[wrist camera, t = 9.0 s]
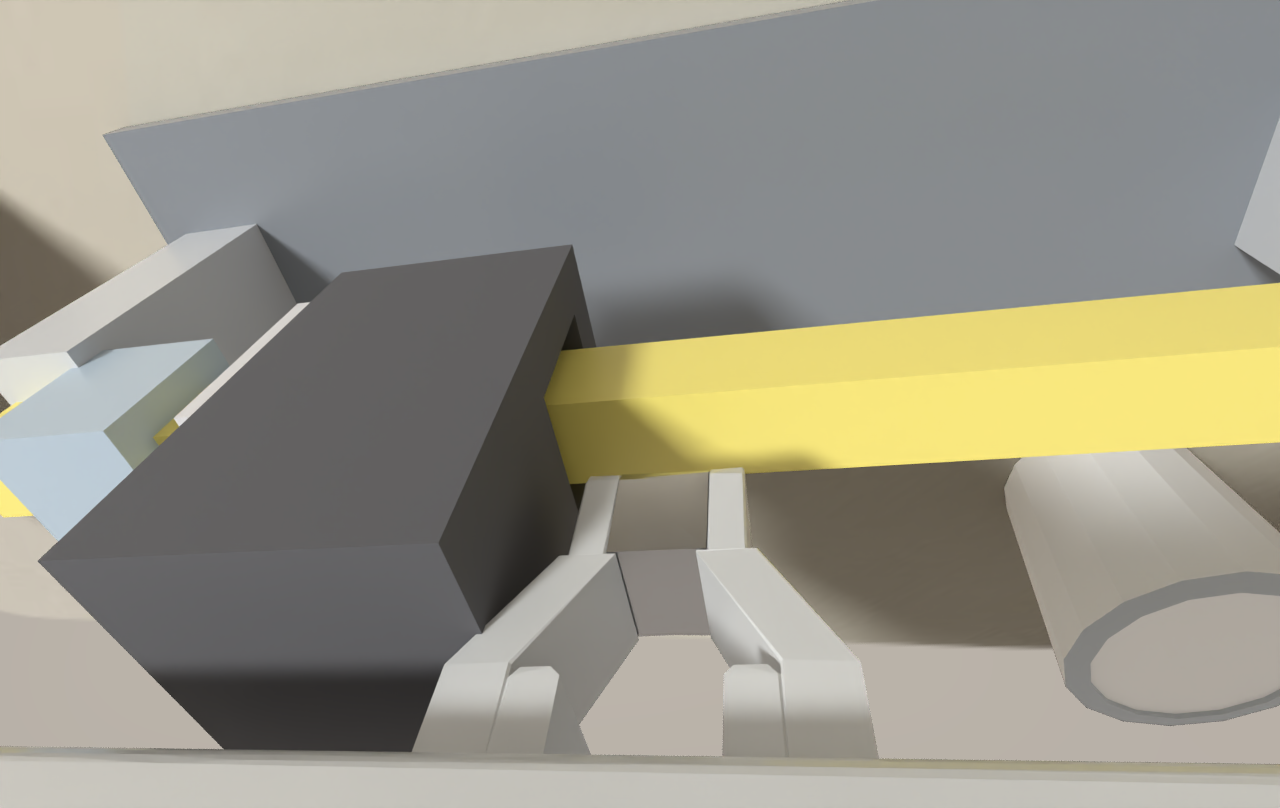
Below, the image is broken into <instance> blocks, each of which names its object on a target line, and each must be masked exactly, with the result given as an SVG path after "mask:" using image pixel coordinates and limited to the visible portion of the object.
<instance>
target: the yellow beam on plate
mask: <svg viewBox="0 0 1280 808" xmlns="http://www.w3.org/2000/svg"><path fill="white" fill-rule="evenodd" d="M103 137H104V138H105V140H106V142H107V143H108V145H109V147H110V148H111V150H112V152H113V153H114V155H115V157H116V158H117V160H118V162H119V163H120V165H121V167H122V168H123V170H124V172H125V174H126V175H127V177H128V179H129V180H130V182H131V184H132V185H133V187H134V189H135V190H136V192H137V194H138V195H139V197H140V199H141V200H142V202H143V204H144V205H145V207H146V209H147V210H148V212H149V214H150V216H151V217H152V219H153V221H154V222H155V224H156V226H157V227H158V229H159V231H160V232H161V234H162V236H163V237H164V239H165V241H166V242H167V244H168V245H167V246H165V247H164V248H162V249H160V250H159V251H157V252H155V253H154V254H152V255H150V256H149V257H147V258H145V259H144V260H142V261H140V262H139V263H137V264H135V265H134V266H132V267H130V268H129V269H127V270H125V271H124V272H122V273H120V274H119V275H117V276H115V277H114V278H112V279H110V280H109V281H107V282H105V283H104V284H102V285H100V286H99V287H97V288H95V289H94V290H92V291H90V292H89V293H87V294H85V295H84V296H82V297H80V298H79V299H77V300H75V301H74V302H72V303H70V304H69V305H67V306H65V307H64V308H62V309H60V310H59V311H57V312H55V313H54V314H52V315H50V316H49V317H47V318H45V319H44V320H42V321H40V322H39V323H37V324H35V325H34V326H32V327H30V328H29V329H27V330H25V331H24V332H22V333H20V334H19V335H17V336H15V337H14V338H12V339H10V340H9V341H7V342H5V343H4V344H2V345H0V393H1V395H2V396H3V397H4V398H5V399H6V400H7V402H8V403H9V404H10V405H11V406H10V407H9V408H7V409H6V410H4V411H3V412H1V413H0V514H1V515H2V516H3V517H18V516H35V517H36V518H37V520H38V521H39V522H40V523H41V524H42V525H43V526H44V527H45V528H46V529H47V530H48V531H49V532H50V533H51V534H52V535H53V536H54V538H55V539H56V540H57V541H59V540H60V539H61V538H62V537H63V536H65V535H66V534H67V533H68V532H69V531H70V530H71V529H72V528H73V527H74V526H75V525H76V524H77V523H78V522H79V521H80V520H81V519H82V518H83V517H85V516H86V515H87V514H88V513H89V512H90V511H91V510H92V509H93V508H94V507H95V506H96V505H97V504H98V503H99V502H100V501H101V500H102V499H103V498H105V497H106V496H107V495H108V494H109V493H110V492H111V491H112V490H113V489H114V488H115V487H116V486H117V485H118V484H119V483H120V482H121V481H122V480H124V479H125V478H126V477H127V476H128V475H129V474H130V473H131V472H132V471H133V470H134V469H135V468H136V467H137V466H138V465H139V464H140V463H141V462H142V461H144V460H145V459H146V458H147V457H148V456H149V455H150V454H151V453H152V452H153V451H154V450H155V449H156V448H157V447H158V446H159V445H160V444H161V443H162V442H164V441H165V440H166V439H167V438H168V437H169V436H170V435H171V434H172V433H173V432H174V431H175V430H176V429H177V428H178V427H179V426H180V425H181V424H183V423H184V422H185V421H186V420H187V419H188V418H189V417H190V416H191V415H192V414H193V413H194V412H195V411H196V410H197V409H198V408H199V407H200V406H201V405H203V404H204V403H205V402H206V401H207V400H208V399H209V398H210V397H211V396H212V395H213V394H214V393H215V392H216V391H217V390H218V389H219V388H220V387H221V386H223V385H224V384H225V383H226V382H227V381H228V380H229V379H230V378H231V377H232V376H233V375H234V374H235V373H236V372H237V371H238V370H239V369H240V368H242V367H243V366H244V365H245V364H246V363H247V362H248V361H249V360H250V359H251V358H252V357H253V356H254V355H255V354H256V353H257V352H258V351H259V350H260V349H262V348H263V347H264V346H265V345H266V344H267V343H268V342H269V341H270V340H271V339H272V338H273V337H274V336H275V335H276V334H277V333H278V332H279V331H280V330H282V329H283V328H284V327H285V326H286V325H287V324H288V323H289V322H290V321H291V320H292V319H293V318H294V317H295V316H296V315H297V314H298V313H299V312H301V311H302V310H303V309H304V308H305V307H306V306H307V305H308V304H309V303H310V302H311V301H312V300H313V299H314V298H315V297H316V296H317V295H318V294H319V293H321V292H322V291H323V290H324V289H325V288H326V287H327V286H328V285H329V284H330V283H331V282H332V281H333V280H334V279H335V278H336V277H337V276H338V275H339V274H341V273H343V272H351V271H359V270H367V269H375V268H383V267H392V266H400V265H408V264H416V263H424V262H432V261H440V260H449V259H457V258H465V257H473V256H481V255H489V254H497V253H506V252H514V251H522V250H530V249H538V248H546V247H554V246H563V245H571V244H572V245H573V250H574V254H575V258H576V262H577V267H578V271H579V275H580V279H581V284H582V288H583V292H584V296H585V301H586V305H587V309H588V313H589V318H590V322H591V326H592V330H593V335H594V339H595V343H596V348H585V349H575V350H564V351H561V352H560V355H559V358H558V360H557V363H556V366H555V369H554V371H553V374H552V377H551V380H550V382H549V385H548V388H547V391H546V393H545V396H544V400H545V403H546V407H547V410H548V413H549V417H550V420H551V423H552V427H553V430H554V433H555V437H556V440H557V443H558V446H559V450H560V453H561V456H562V460H563V463H564V466H565V470H566V473H567V476H568V480H569V483H570V484H579V483H586V482H587V481H588V479H589V478H590V477H591V476H615V475H620V476H622V475H625V474H652V473H677V472H692V471H707V470H713V469H725V468H738V467H743V469H744V472H745V474H749V473H766V472H783V471H800V470H817V469H834V468H851V467H868V466H885V465H902V464H919V463H936V462H953V461H970V460H987V459H1004V458H1021V457H1038V456H1055V455H1072V454H1089V453H1106V452H1123V451H1140V450H1157V449H1174V448H1191V447H1208V446H1225V445H1242V444H1259V443H1276V442H1280V0H849V1H844V2H838V3H832V4H826V5H821V6H815V7H809V8H803V9H798V10H792V11H786V12H781V13H775V14H769V15H763V16H758V17H752V18H746V19H741V20H735V21H729V22H723V23H718V24H712V25H706V26H701V27H695V28H689V29H683V30H678V31H672V32H666V33H661V34H655V35H649V36H643V37H638V38H632V39H626V40H621V41H615V42H609V43H603V44H598V45H592V46H586V47H581V48H575V49H569V50H563V51H558V52H552V53H546V54H541V55H535V56H529V57H523V58H518V59H512V60H506V61H500V62H495V63H489V64H483V65H478V66H472V67H466V68H460V69H455V70H449V71H443V72H438V73H432V74H426V75H420V76H415V77H409V78H403V79H398V80H392V81H386V82H380V83H375V84H369V85H363V86H358V87H352V88H346V89H340V90H335V91H329V92H323V93H318V94H312V95H306V96H300V97H295V98H289V99H283V100H278V101H272V102H266V103H260V104H255V105H249V106H243V107H238V108H232V109H226V110H220V111H215V112H209V113H203V114H197V115H192V116H186V117H180V118H175V119H169V120H163V121H157V122H152V123H146V124H140V125H135V126H129V127H123V128H120V129H118V130H115V131H112V132H109V133H106V134H104V135H103Z"/></svg>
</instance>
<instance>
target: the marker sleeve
mask: <svg viewBox="0 0 1280 808" xmlns="http://www.w3.org/2000/svg"><path fill="white" fill-rule="evenodd" d="M585 348H596V343H595V339H594V335H593V330H592V326H591V322H590V318H589V313H588V309H587V305H586V301H585V296H584V292H583V288H582V284H581V279H580V275H579V271H578V267H577V262H576V258H575V254H574V250H573V245H572V244H571V245H563V246H554V247H546V248H538V249H530V250H522V251H514V252H506V253H497V254H489V255H481V256H473V257H465V258H457V259H449V260H440V261H432V262H424V263H416V264H408V265H400V266H392V267H383V268H375V269H367V270H359V271H351V272H343V273H341V274H339V275H338V276H337V277H336V278H335V279H334V280H333V281H332V282H331V283H330V284H329V285H328V286H327V287H326V288H325V289H324V290H323V291H322V292H321V293H319V294H318V295H317V296H316V297H315V298H314V299H313V300H312V301H311V302H310V303H309V304H308V305H307V306H306V307H305V308H304V309H303V310H302V311H301V312H299V313H298V314H297V315H296V316H295V317H294V318H293V319H292V320H291V321H290V322H289V323H288V324H287V325H286V326H285V327H284V328H283V329H282V330H280V331H279V332H278V333H277V334H276V335H275V336H274V337H273V338H272V339H271V340H270V341H269V342H268V343H267V344H266V345H265V346H264V347H263V348H262V349H260V350H259V351H258V352H257V353H256V354H255V355H254V356H253V357H252V358H251V359H250V360H249V361H248V362H247V363H246V364H245V365H244V366H243V367H242V368H240V369H239V370H238V371H237V372H236V373H235V374H234V375H233V376H232V377H231V378H230V379H229V380H228V381H227V382H226V383H225V384H224V385H223V386H221V387H220V388H219V389H218V390H217V391H216V392H215V393H214V394H213V395H212V396H211V397H210V398H209V399H208V400H207V401H206V402H205V403H204V404H203V405H201V406H200V407H199V408H198V409H197V410H196V411H195V412H194V413H193V414H192V415H191V416H190V417H189V418H188V419H187V420H186V421H185V422H184V423H183V424H181V425H180V426H179V427H178V428H177V429H176V430H175V431H174V432H173V433H172V434H171V435H170V436H169V437H168V438H167V439H166V440H165V441H164V442H162V443H161V444H160V445H159V446H158V447H157V448H156V449H155V450H154V451H153V452H152V453H151V454H150V455H149V456H148V457H147V458H146V459H145V460H144V461H142V462H141V463H140V464H139V465H138V466H137V467H136V468H135V469H134V470H133V471H132V472H131V473H130V474H129V475H128V476H127V477H126V478H125V479H124V480H122V481H121V482H120V483H119V484H118V485H117V486H116V487H115V488H114V489H113V490H112V491H111V492H110V493H109V494H108V495H107V496H106V497H105V498H103V499H102V500H101V501H100V502H99V503H98V504H97V505H96V506H95V507H94V508H93V509H92V510H91V511H90V512H89V513H88V514H87V515H86V516H85V517H83V518H82V519H81V520H80V521H79V522H78V523H77V524H76V525H75V526H74V527H73V528H72V529H71V530H70V531H69V532H68V533H67V534H66V535H65V536H63V537H62V538H61V539H60V540H59V541H58V542H57V543H56V544H55V545H54V546H53V547H52V548H51V549H50V550H49V551H48V552H47V553H46V554H44V555H43V556H42V557H41V558H40V559H39V560H38V562H39V563H40V564H41V565H42V566H43V567H44V568H45V569H46V570H47V571H48V572H49V573H50V574H51V575H52V576H53V577H54V578H55V579H56V580H57V581H58V582H59V583H60V584H61V585H62V586H63V587H64V588H65V589H66V590H67V591H68V592H69V593H70V594H71V595H72V596H73V597H74V598H75V599H76V600H77V601H78V602H79V603H80V604H81V605H82V606H83V607H84V608H85V609H86V610H87V611H88V612H89V614H90V615H91V616H92V617H93V618H94V619H95V620H96V621H97V622H98V623H100V625H102V627H103V628H104V629H105V630H106V631H107V632H108V633H110V635H111V636H112V637H113V638H114V639H115V640H116V641H117V642H118V643H119V644H120V645H121V646H122V647H123V648H124V649H125V650H126V651H127V652H128V653H129V654H130V655H131V656H132V657H133V658H134V659H135V660H136V661H137V662H138V663H139V664H140V665H141V666H142V667H143V668H144V669H145V670H146V671H147V672H148V673H149V674H150V675H151V676H152V677H153V678H154V679H155V680H156V681H157V682H158V683H159V684H160V685H161V686H162V687H163V688H164V689H165V690H166V691H167V692H168V693H169V694H170V695H171V696H172V697H173V698H174V699H175V700H176V701H177V702H178V703H179V704H180V705H181V706H182V707H183V708H184V709H185V710H186V711H187V712H188V713H189V714H190V715H191V716H192V717H193V718H194V719H195V720H196V721H197V722H198V723H199V724H200V725H201V726H202V727H203V728H204V730H205V731H206V732H207V733H208V734H209V735H210V736H212V738H213V739H214V740H215V741H216V742H217V743H218V744H219V745H220V746H221V747H222V748H223V749H230V750H300V751H370V752H412V749H413V747H414V744H415V741H416V739H417V736H418V733H419V731H420V728H421V725H422V723H423V720H424V717H425V715H426V712H427V709H428V707H429V704H430V701H431V699H432V696H433V693H434V691H435V688H436V685H437V683H438V680H439V677H440V675H441V672H442V669H443V667H444V664H445V663H446V662H447V661H448V660H449V659H451V658H452V657H453V656H454V655H455V654H456V653H457V652H458V651H459V650H460V649H461V648H462V647H463V646H464V645H465V644H466V643H467V642H468V641H470V640H471V639H472V638H473V637H474V636H475V635H476V634H482V633H483V631H484V628H485V625H486V624H487V623H489V622H490V621H491V620H492V619H493V618H494V617H495V616H496V615H497V614H498V613H499V612H500V611H501V610H502V609H503V608H504V607H505V606H506V605H508V604H509V603H510V602H511V601H512V600H513V599H514V598H515V597H516V596H517V595H518V594H519V593H520V592H521V591H522V590H523V589H524V588H525V587H527V586H528V585H529V584H530V583H531V582H532V581H533V580H534V579H535V578H536V577H537V576H538V575H539V574H540V573H541V572H542V571H543V570H544V569H546V568H547V567H548V566H549V565H550V564H551V563H552V562H553V561H554V560H555V559H556V558H557V557H558V556H562V555H569V551H570V546H571V542H572V538H573V534H574V530H575V526H576V522H577V517H578V513H579V509H580V505H581V501H582V497H583V493H584V489H585V484H586V483H579V484H570V483H569V480H568V476H567V473H566V470H565V466H564V463H563V460H562V456H561V453H560V450H559V446H558V443H557V440H556V437H555V433H554V430H553V427H552V423H551V420H550V417H549V413H548V410H547V407H546V403H545V400H544V396H545V393H546V391H547V388H548V385H549V382H550V380H551V377H552V374H553V371H554V369H555V366H556V363H557V360H558V358H559V355H560V352H561V351H564V350H575V349H585Z"/></svg>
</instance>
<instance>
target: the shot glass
mask: <svg viewBox="0 0 1280 808" xmlns="http://www.w3.org/2000/svg"><path fill="white" fill-rule="evenodd" d="M1004 491H1005V499H1006V507H1007V511H1008V514H1009V517H1010V521H1011V524H1012V527H1013V530H1014V533H1015V536H1016V539H1017V542H1018V545H1019V548H1020V551H1021V554H1022V557H1023V560H1024V563H1025V566H1026V569H1027V572H1028V575H1029V578H1030V581H1031V584H1032V587H1033V590H1034V593H1035V596H1036V599H1037V602H1038V605H1039V608H1040V611H1041V614H1042V617H1043V620H1044V623H1045V626H1046V629H1047V632H1048V635H1049V638H1050V641H1051V644H1052V647H1053V650H1054V653H1055V656H1056V659H1057V662H1058V665H1059V668H1060V671H1061V674H1062V677H1063V680H1064V683H1065V686H1066V687H1067V688H1068V689H1069V690H1070V691H1071V692H1072V693H1073V694H1074V695H1075V697H1076V698H1078V699H1079V701H1080V702H1081V703H1082V704H1083V705H1085V707H1086V708H1089V709H1091V710H1094V711H1097V712H1100V713H1102V714H1105V715H1108V716H1111V717H1113V718H1116V719H1118V720H1121V721H1126V722H1136V723H1146V724H1157V725H1166V726H1174V725H1185V724H1195V723H1206V722H1216V721H1225V720H1228V719H1232V718H1236V717H1240V716H1243V715H1247V714H1250V713H1254V712H1258V711H1261V710H1265V709H1269V708H1272V707H1276V706H1278V705H1280V533H1279V532H1278V531H1277V530H1276V529H1275V528H1274V527H1273V526H1272V525H1271V524H1270V523H1268V522H1267V521H1266V520H1265V519H1264V518H1263V517H1262V516H1261V515H1260V514H1259V513H1257V512H1256V511H1255V510H1254V509H1253V508H1252V507H1251V506H1250V505H1249V504H1248V503H1246V502H1245V501H1244V500H1243V499H1242V498H1241V497H1240V496H1239V495H1238V494H1237V493H1235V492H1234V491H1233V490H1232V489H1231V488H1230V487H1229V486H1228V485H1227V484H1226V483H1224V482H1223V481H1222V480H1221V479H1220V478H1219V477H1218V476H1217V475H1216V474H1215V473H1213V472H1212V471H1211V470H1210V469H1209V468H1208V467H1207V466H1206V465H1205V464H1204V463H1202V462H1201V461H1200V460H1199V459H1198V458H1197V457H1196V456H1195V455H1194V454H1193V453H1191V452H1190V451H1189V450H1188V449H1187V448H1174V449H1157V450H1140V451H1123V452H1106V453H1089V454H1072V455H1055V456H1038V457H1022V458H1021V459H1020V460H1019V461H1018V462H1017V463H1016V464H1015V465H1014V467H1013V469H1012V471H1011V474H1010V476H1009V478H1008V480H1007V482H1006V485H1005V487H1004Z"/></svg>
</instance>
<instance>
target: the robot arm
mask: <svg viewBox="0 0 1280 808" xmlns="http://www.w3.org/2000/svg"><path fill="white" fill-rule="evenodd" d="M660 635H711V639H712V640H713V642H714V643H715V645H716V647H717V648H718V650H719V651H720V653H721V654H722V656H723V658H724V659H725V661H726V663H727V664H728V666H729V667H730V669H729V670H728V671H727V672H726V673H725V674H724V695H723V756H719V757H717V756H716V757H715V756H647V755H591V754H590V751H589V749H588V746H587V744H586V741H585V739H584V736H583V734H582V731H581V729H580V726H579V724H580V723H581V721H582V720H583V718H584V717H585V715H586V714H587V713H588V711H589V710H590V708H591V707H592V706H593V704H594V703H595V701H596V700H597V699H598V697H599V696H600V694H601V693H602V691H603V690H604V689H605V687H606V686H607V684H608V683H609V682H610V680H611V679H612V677H613V676H614V674H615V673H616V672H617V670H618V669H619V667H620V666H621V665H622V663H623V662H624V660H625V659H626V657H627V656H628V654H629V653H630V652H631V650H632V649H633V647H634V646H635V645H636V643H637V642H638V640H639V639H638V636H660ZM0 808H1280V764H1228V763H1227V764H1226V763H1158V762H1156V763H1154V762H1152V763H1151V762H1088V761H1083V762H1082V761H1081V762H1080V761H1017V760H1015V761H1014V760H947V759H943V760H942V759H879V757H878V752H877V746H876V741H875V736H874V730H873V724H872V719H871V714H870V708H869V703H868V697H867V692H866V687H865V682H864V676H863V670H862V665H861V661H860V660H859V659H858V658H857V657H856V655H855V654H854V653H853V652H852V651H851V650H850V649H849V648H848V647H847V646H846V644H845V643H844V642H843V641H842V640H841V639H840V638H839V637H838V636H837V635H836V634H835V632H834V631H833V630H832V629H831V628H830V627H829V626H828V625H827V624H826V623H825V621H824V620H823V619H822V618H821V617H820V616H819V615H818V614H817V613H816V612H815V610H814V609H813V608H812V607H811V606H810V605H809V604H808V603H807V602H806V601H805V599H804V598H803V597H802V596H801V595H800V594H799V593H798V592H797V591H796V590H795V589H794V587H793V586H792V585H791V584H790V583H789V582H788V581H787V580H786V579H785V578H784V576H783V575H782V574H781V573H780V572H779V571H778V570H777V569H776V568H775V567H774V565H773V564H772V563H771V562H770V561H769V560H768V559H767V558H766V557H765V556H764V554H763V553H762V552H761V551H760V550H759V549H758V548H752V540H751V529H750V519H749V509H748V499H747V489H746V479H745V472H744V469H743V467H738V468H725V469H713V470H707V471H692V472H677V473H652V474H625V475H622V476H620V475H615V476H591V477H590V478H589V479H588V481H587V482H586V484H585V489H584V493H583V497H582V501H581V505H580V509H579V513H578V517H577V522H576V526H575V530H574V534H573V538H572V542H571V546H570V551H569V555H562V556H558V557H557V558H556V559H555V560H554V561H553V562H552V563H551V564H550V565H549V566H548V567H547V568H546V569H544V570H543V571H542V572H541V573H540V574H539V575H538V576H537V577H536V578H535V579H534V580H533V581H532V582H531V583H530V584H529V585H528V586H527V587H525V588H524V589H523V590H522V591H521V592H520V593H519V594H518V595H517V596H516V597H515V598H514V599H513V600H512V601H511V602H510V603H509V604H508V605H506V606H505V607H504V608H503V609H502V610H501V611H500V612H499V613H498V614H497V615H496V616H495V617H494V618H493V619H492V620H491V621H490V622H489V623H487V624H486V625H485V628H484V631H483V633H482V634H476V635H475V636H474V637H473V638H472V639H471V640H470V641H468V642H467V643H466V644H465V645H464V646H463V647H462V648H461V649H460V650H459V651H458V652H457V653H456V654H455V655H454V656H453V657H452V658H451V659H449V660H448V661H447V662H446V663H445V664H444V667H443V669H442V672H441V675H440V677H439V680H438V683H437V685H436V688H435V691H434V693H433V696H432V699H431V701H430V704H429V707H428V709H427V712H426V715H425V717H424V720H423V723H422V725H421V728H420V731H419V733H418V736H417V739H416V741H415V744H414V747H413V749H412V752H370V751H300V750H230V749H161V748H157V749H156V748H93V747H87V748H86V747H22V746H0Z"/></svg>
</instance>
